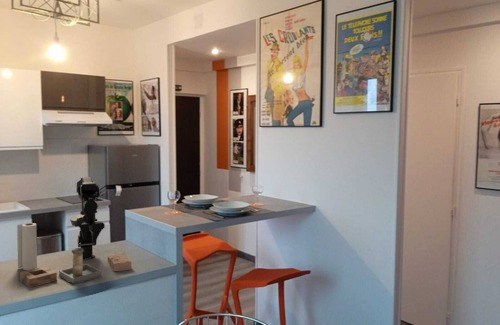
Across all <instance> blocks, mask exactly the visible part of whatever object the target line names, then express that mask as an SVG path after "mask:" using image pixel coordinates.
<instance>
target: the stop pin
mask: <svg viewBox="0 0 500 325" xmlns="http://www.w3.org/2000/svg"><path fill="white" fill-rule="evenodd" d="M83 251H84V249H83V248H81V247H77V248H76V247H75V248H72V249H71V253H72V267H73V278H75V277H79V276H83V265H84V264H83V260H84V259H83Z"/></svg>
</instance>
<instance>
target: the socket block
mask: <svg viewBox="0 0 500 325" xmlns="http://www.w3.org/2000/svg"><path fill="white" fill-rule="evenodd" d="M57 275H58V273H57V271H55V270H53V269H51V268H49V267H48V266H42V267H37V268H36V269H32V270H23V271H21V272H19V281H21V282H22V283H23V284H25V285H26V286H28V287H29V288H33V287H36V286H41V285H44V284H48V283H51V282H55V281H57V280H58V277H57Z"/></svg>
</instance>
